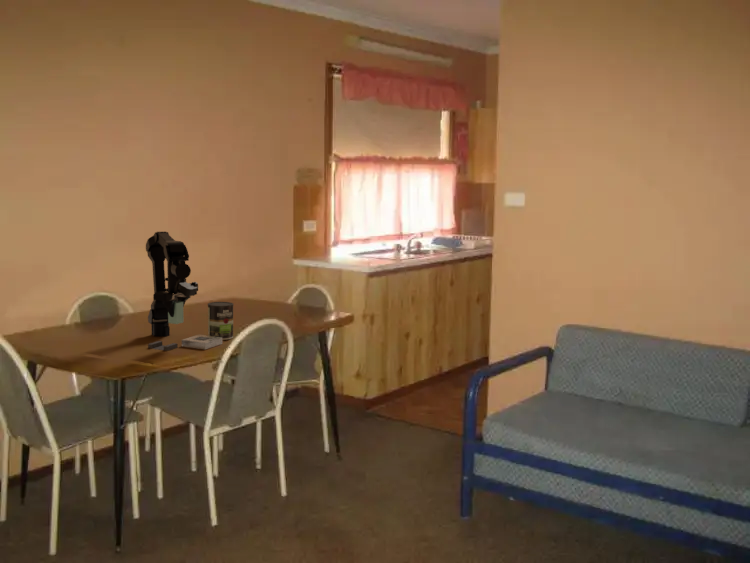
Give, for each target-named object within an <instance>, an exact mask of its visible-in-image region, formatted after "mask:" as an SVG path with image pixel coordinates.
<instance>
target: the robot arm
mask: <svg viewBox="0 0 750 563" xmlns="http://www.w3.org/2000/svg"><path fill="white" fill-rule="evenodd" d="M145 251H146V252H147V257H148V259H149V261H150V262H151V264H152V280H153V295H152V298H153V300H152V302H151V304H150V310H149V312H148V315H147V320H148V323H149V324H150V325H151V336H154V337H157V338H159V337H160V338H161V337H162V338H163V337H166V338H167V337H170V335H171V334H170V333H171V332H170V326H169V324H170V323H168V312H169V314H170V316H171V317H173V316H174V304H175V302H176V301H177V300H176V299H174V298H178V301H182V302H183V308H184V307H185V304H186V302H187V301H188V300H189V299H191V297H192V296H196V295H198V291H199V283H198V282H197V281H192V282H187V278H189V276H190V275H191V272H192V270H191V267H190V265H189V264H187V263H186V262H187V261H189V258H190V254H189V251H188V248H187V246H186V244H185V243H184V242H183V241H181V240H180V241H179V240H176V239H174V238H173V237H172V236H171V235H170V234H169V232H168V231H156V232H154V233H153V235H152V236H151V237H149V238H148V239H147V241H146V242H145ZM165 260H166V263H167V264H166V265H167V271H166V272H167V274H165V273H166V272H165ZM165 275H167V277H166V276H165ZM166 282H167V288H166Z"/></svg>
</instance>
